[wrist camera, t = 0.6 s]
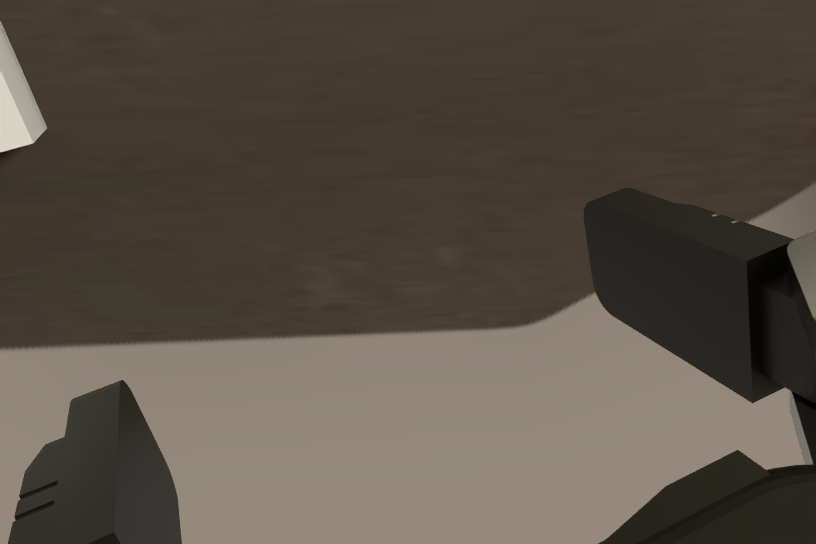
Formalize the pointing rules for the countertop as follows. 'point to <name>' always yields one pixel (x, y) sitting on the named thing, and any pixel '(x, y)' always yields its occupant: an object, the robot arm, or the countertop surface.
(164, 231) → the countertop surface
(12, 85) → the tote
